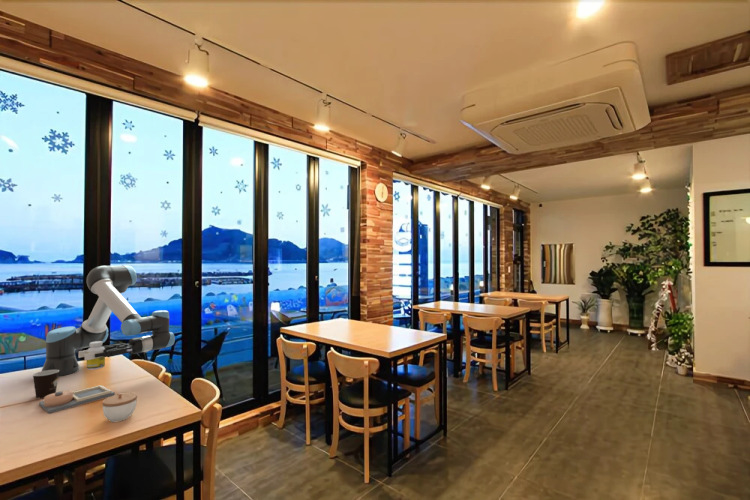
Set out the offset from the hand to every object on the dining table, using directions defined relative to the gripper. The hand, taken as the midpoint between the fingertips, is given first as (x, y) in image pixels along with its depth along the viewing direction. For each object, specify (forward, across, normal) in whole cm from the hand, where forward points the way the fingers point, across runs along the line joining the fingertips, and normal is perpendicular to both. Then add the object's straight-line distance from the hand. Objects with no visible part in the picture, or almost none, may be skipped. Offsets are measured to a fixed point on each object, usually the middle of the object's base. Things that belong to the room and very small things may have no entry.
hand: (81, 355), depth 154 cm
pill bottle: (-5, 0, -7) cm, 9 cm away
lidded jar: (-1, -37, -19) cm, 41 cm away
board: (+2, -2, -18) cm, 18 cm away
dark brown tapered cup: (+6, +17, -18) cm, 26 cm away
